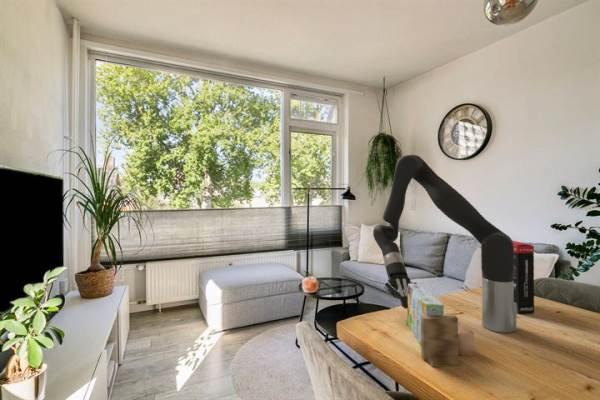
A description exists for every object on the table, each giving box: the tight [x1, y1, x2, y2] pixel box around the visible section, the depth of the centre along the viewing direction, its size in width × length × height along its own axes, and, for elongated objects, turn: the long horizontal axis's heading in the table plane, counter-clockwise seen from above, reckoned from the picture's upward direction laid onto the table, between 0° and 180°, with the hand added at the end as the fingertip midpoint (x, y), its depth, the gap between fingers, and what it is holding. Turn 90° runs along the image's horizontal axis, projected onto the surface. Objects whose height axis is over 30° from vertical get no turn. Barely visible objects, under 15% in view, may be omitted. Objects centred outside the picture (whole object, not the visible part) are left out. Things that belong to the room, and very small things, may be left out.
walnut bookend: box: [420, 315, 462, 367], centre depth 85 cm, size 10×5×12 cm, turn 92°
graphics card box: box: [512, 240, 535, 315], centre depth 123 cm, size 17×7×27 cm, turn 179°
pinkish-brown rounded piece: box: [458, 326, 475, 357], centre depth 90 cm, size 6×6×6 cm
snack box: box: [406, 283, 444, 346], centre depth 98 cm, size 21×6×15 cm, turn 175°
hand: (406, 307), depth 109 cm, fingers closed
